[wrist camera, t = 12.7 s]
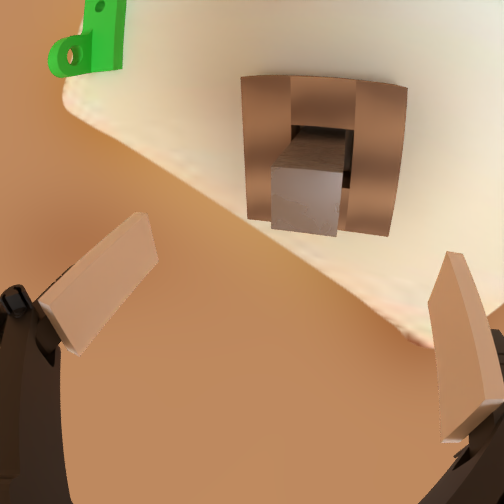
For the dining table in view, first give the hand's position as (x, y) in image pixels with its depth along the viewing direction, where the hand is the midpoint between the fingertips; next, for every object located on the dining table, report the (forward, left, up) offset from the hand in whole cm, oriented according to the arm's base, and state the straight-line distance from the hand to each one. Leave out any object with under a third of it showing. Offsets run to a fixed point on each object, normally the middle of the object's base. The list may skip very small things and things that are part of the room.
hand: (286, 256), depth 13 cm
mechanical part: (-16, -27, -22) cm, 39 cm away
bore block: (0, 0, -22) cm, 22 cm away
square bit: (0, 0, -21) cm, 21 cm away
